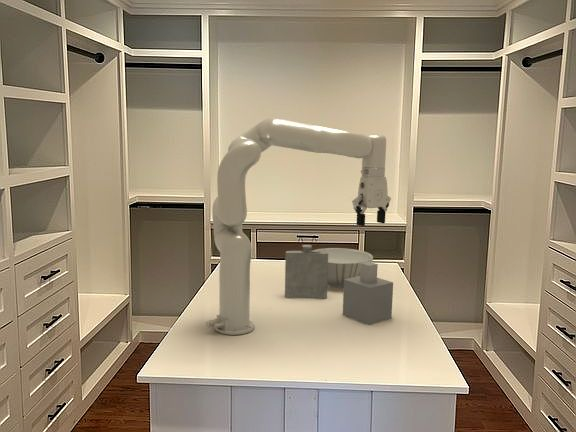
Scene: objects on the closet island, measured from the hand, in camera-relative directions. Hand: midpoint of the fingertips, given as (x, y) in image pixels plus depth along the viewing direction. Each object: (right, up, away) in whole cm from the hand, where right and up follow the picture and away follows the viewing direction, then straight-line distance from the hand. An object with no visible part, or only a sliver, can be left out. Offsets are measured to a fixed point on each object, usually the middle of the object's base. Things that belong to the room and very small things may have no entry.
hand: (370, 224), depth 188 cm
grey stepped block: (-1, -32, +5) cm, 32 cm away
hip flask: (-21, -28, +26) cm, 44 cm away
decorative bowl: (-7, -25, +45) cm, 52 cm away
